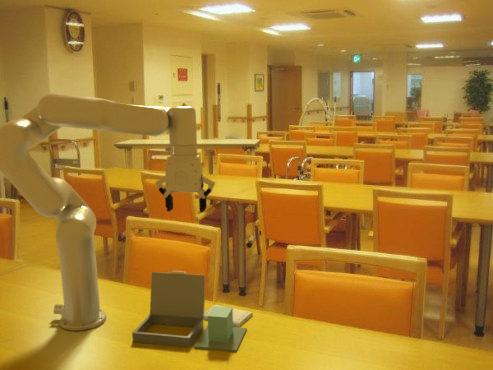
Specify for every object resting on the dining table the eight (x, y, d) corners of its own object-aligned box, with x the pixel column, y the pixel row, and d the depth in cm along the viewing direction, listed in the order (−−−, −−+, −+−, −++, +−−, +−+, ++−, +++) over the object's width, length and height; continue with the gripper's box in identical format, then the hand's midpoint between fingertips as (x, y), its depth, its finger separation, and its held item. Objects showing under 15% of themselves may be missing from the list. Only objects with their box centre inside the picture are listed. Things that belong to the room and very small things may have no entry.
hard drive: (200, 314, 145) (238, 323, 139) (215, 304, 152) (252, 311, 147) (201, 320, 146) (239, 328, 140) (215, 309, 153) (252, 316, 147)
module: (208, 341, 131) (207, 315, 130) (215, 330, 137) (214, 306, 135) (227, 343, 130) (226, 317, 128) (233, 332, 136) (232, 307, 134)
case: (132, 341, 132) (132, 332, 132) (150, 322, 144) (149, 313, 143) (189, 347, 129) (189, 338, 129) (203, 326, 140) (203, 317, 140)
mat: (194, 347, 129) (194, 346, 129) (207, 326, 140) (207, 324, 140) (236, 351, 126) (236, 350, 126) (246, 329, 138) (246, 328, 138)
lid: (151, 270, 144) (153, 269, 145) (149, 314, 143) (151, 313, 144) (204, 273, 140) (206, 272, 142) (202, 318, 139) (204, 317, 141)
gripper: (149, 152, 140) (152, 213, 143) (209, 153, 136) (211, 215, 139) (159, 149, 147) (162, 207, 150) (217, 149, 143) (219, 208, 147)
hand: (186, 210), depth 145 cm, fingers open, 9 cm apart
